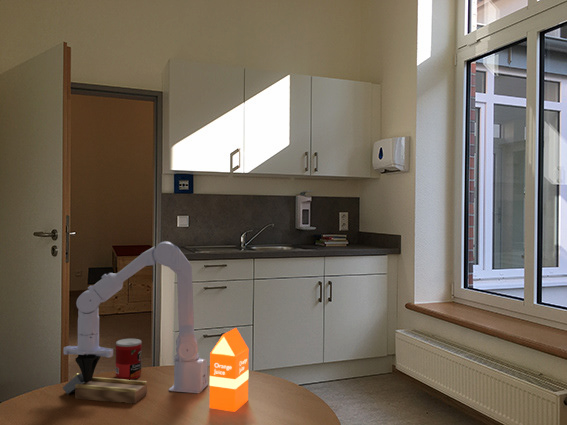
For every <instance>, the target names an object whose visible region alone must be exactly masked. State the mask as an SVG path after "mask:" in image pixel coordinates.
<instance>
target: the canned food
mask: <svg viewBox="0 0 567 425" xmlns="http://www.w3.org/2000/svg"><path fill="white" fill-rule="evenodd" d="M142 343H143V342H142V340H141V339H138V338H123V339H118V340H117V341H116V342H115V376H116V379H126V380H129V379H130V380H135V379H138V378H139V377H141V375H142V350H143V349H142V348H143V347H142V346H143V345H142Z"/></svg>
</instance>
